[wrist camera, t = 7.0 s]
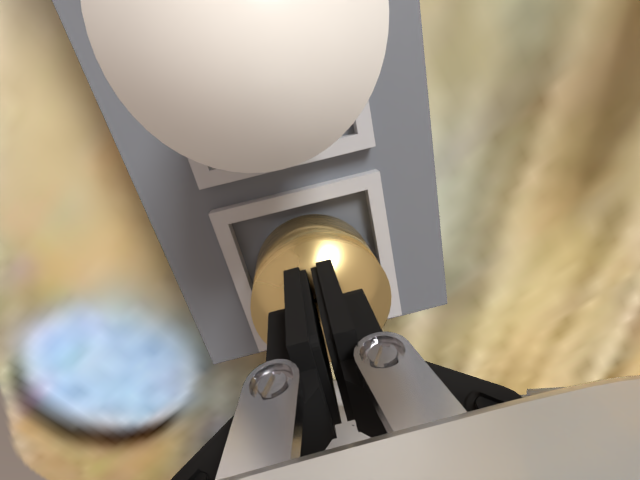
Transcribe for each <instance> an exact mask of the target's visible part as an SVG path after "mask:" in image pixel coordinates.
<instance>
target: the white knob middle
mask: <svg viewBox="0 0 640 480" xmlns="http://www.w3.org/2000/svg"><path fill="white" fill-rule="evenodd" d="M80 1H81V9H82V14H83V18H84V23H85V27H86V31H87V35H88V38H89V40H90V43H91V46H92V49H93V52H94V54H95V57H96V59H97V61H98V63H99V65H100V67H101V69H102V71H103V73H104V76H105V78H106V79H107V81H108V83H109V84H110V86H111V87H112V89H113V90H114V92H115V94H116V95H117V97H118V98H119V100H120V101H121V102H122V103H123V105H124V106H125V107H126V108H127V110H128V111H129V112H130V113H131V115H132V116H133V117H134V118H135V119H136V120H137V121H138V122H139V123H140V124H141V125H142V126H143V127H144V128H145V129H146V130H147V131H148V132H150V133H151V134H152V135H153V136H155V137H156V138H157V139H158V140H160V141H161V142H162V143H163V144H165V145H166V146H168V147H170V148H171V149H173V150H174V151H176V152H177V153H179V154H181V155H183V156H185V157H187V158H189V159H191V160H193V161H195V162H198V163H201V164H204V165H206V166H209V167H212V168H216V169H221V170H225V171H230V172H240V173H265V172H271V171H277V170H282V169H286V168H289V167H292V166H295V165H298V164H300V163H302V162H305V161H307V160H309V159H311V158H313V157H315V156H316V155H318V154H319V153H321V152H322V151H324V150H326V149H327V148H328V147H330V146H331V145H332V144H333V143H334V142H336V141H337V140H338V139H339V138H340V137H341V136H342V135H343V134H344V133H345V132H346V131H347V130H348V129H349V128H350V126H351V125H352V124H353V123H354V122H355V120H356V119H357V117H358V116H359V115H360V113H361V112H362V110H363V109H364V107H365V105H366V103H367V101H368V100H369V98H370V96H371V94H372V92H373V90H374V87H375V85H376V82H377V80H378V77H379V75H380V71H381V68H382V64H383V60H384V56H385V52H386V45H387V39H388V30H389V0H80Z"/></svg>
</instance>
